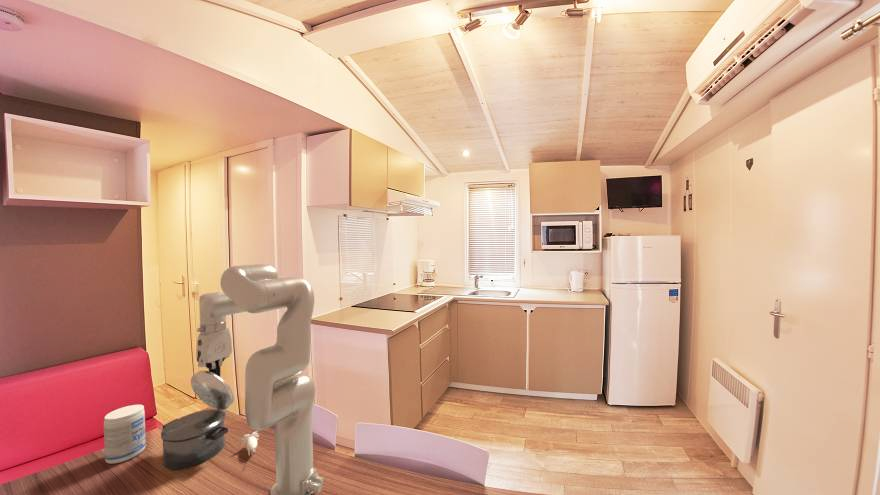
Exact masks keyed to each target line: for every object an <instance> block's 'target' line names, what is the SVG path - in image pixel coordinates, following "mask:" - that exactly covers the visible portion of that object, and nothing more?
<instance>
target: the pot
mask: <svg viewBox="0 0 880 495" xmlns="http://www.w3.org/2000/svg"><path fill="white" fill-rule="evenodd" d="M226 417H227V409H225V410H218V409H215V408H212V409H205V410H200V411H196V412H195V411H194V412H192V413H189V414H186V415H183V416H181V417H179V418H175V419H173V420H171V421H169V422H167V423H165V424H164V425H162V427H161V428H162V429H161V432H160V439H161V440H162V458H163V460H162V462H163V463H162V464H163V467H164V469H166V470H170V471H180V470H186V469H190V468H193V467H196V466H199V465H201V464H204V463H205V462H208V461H209V460H211V459H212V458H214V457H215V456H216V455H219V453H220V452H221V451H222V450H223V448H224V447H225V445H226V444H225V443H226V442H225V436H226V434H228V433H229V427H225V419H226Z"/></svg>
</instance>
